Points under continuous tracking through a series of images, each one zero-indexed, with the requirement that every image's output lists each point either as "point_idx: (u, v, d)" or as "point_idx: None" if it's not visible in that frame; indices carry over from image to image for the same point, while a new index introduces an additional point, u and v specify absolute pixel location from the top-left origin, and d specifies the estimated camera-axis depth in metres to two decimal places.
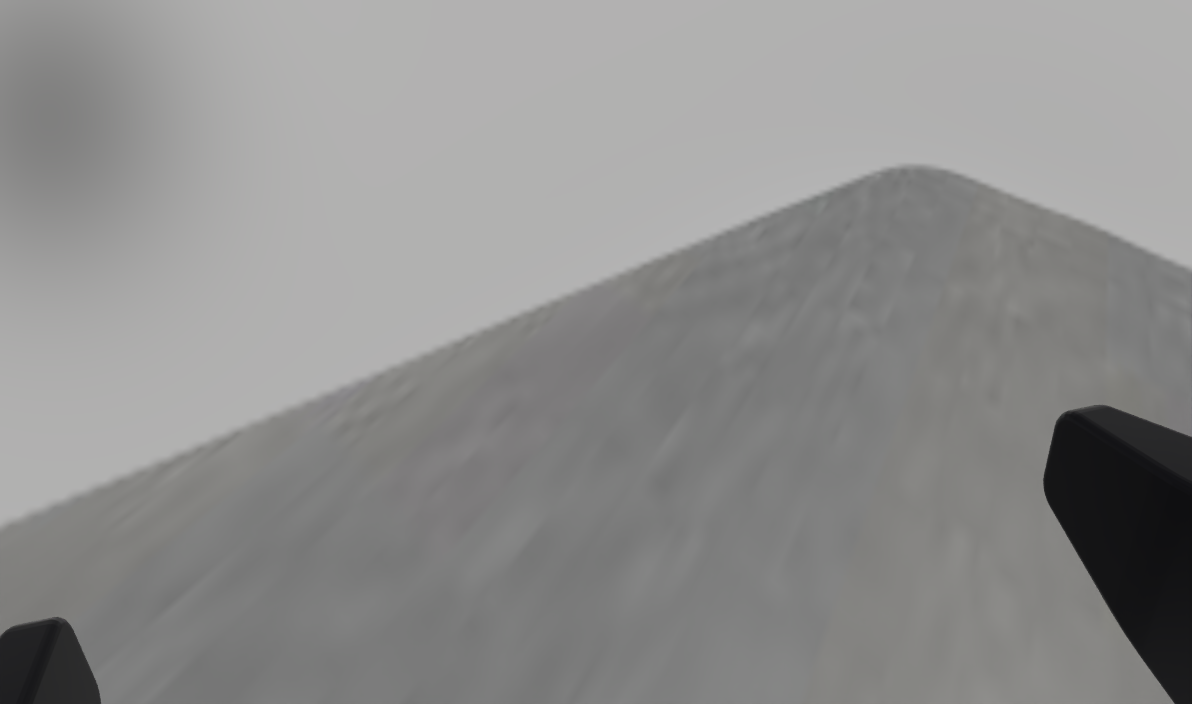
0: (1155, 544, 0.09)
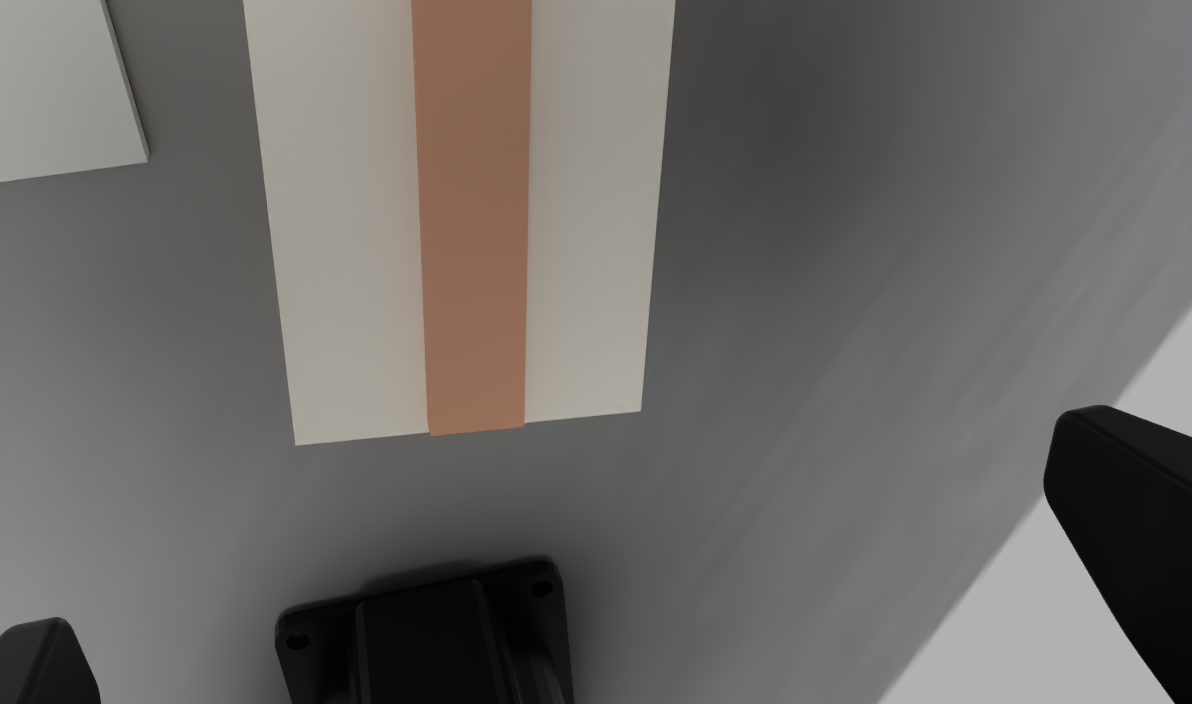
0: (1155, 544, 0.09)
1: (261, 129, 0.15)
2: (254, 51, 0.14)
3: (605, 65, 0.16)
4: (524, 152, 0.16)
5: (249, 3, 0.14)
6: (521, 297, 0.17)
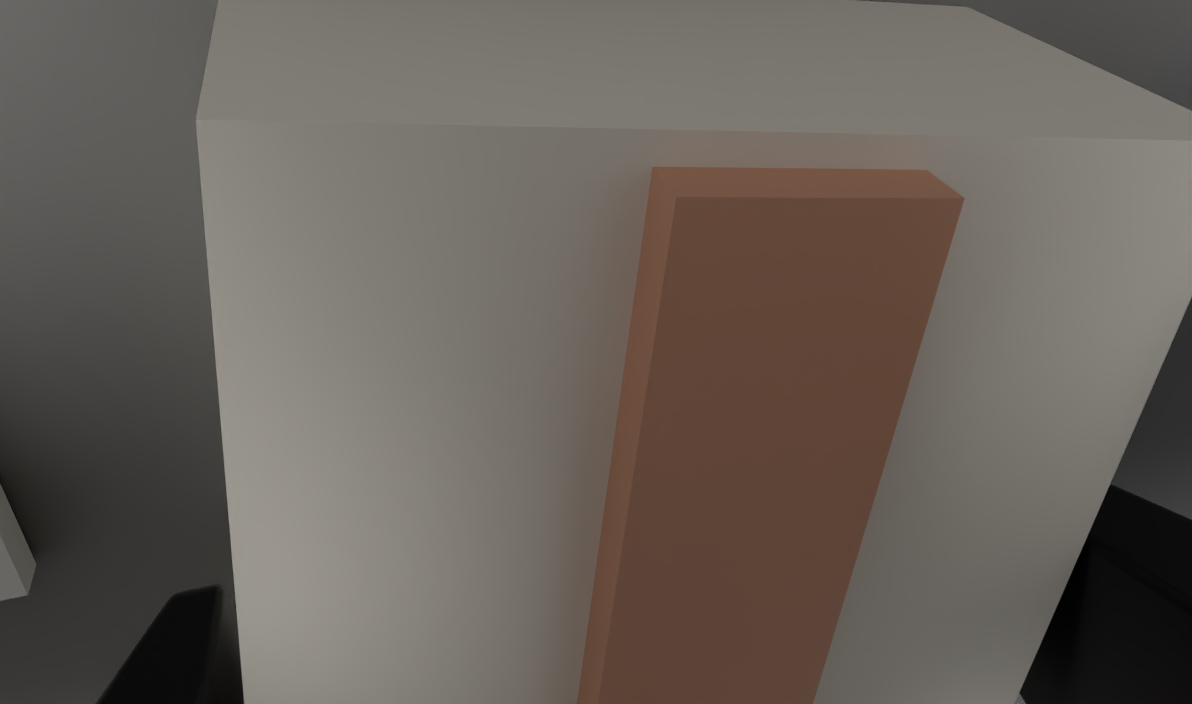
0: None
1: (248, 669, 0.07)
2: (243, 535, 0.06)
3: (983, 512, 0.08)
4: (806, 688, 0.07)
5: (237, 442, 0.06)
6: None
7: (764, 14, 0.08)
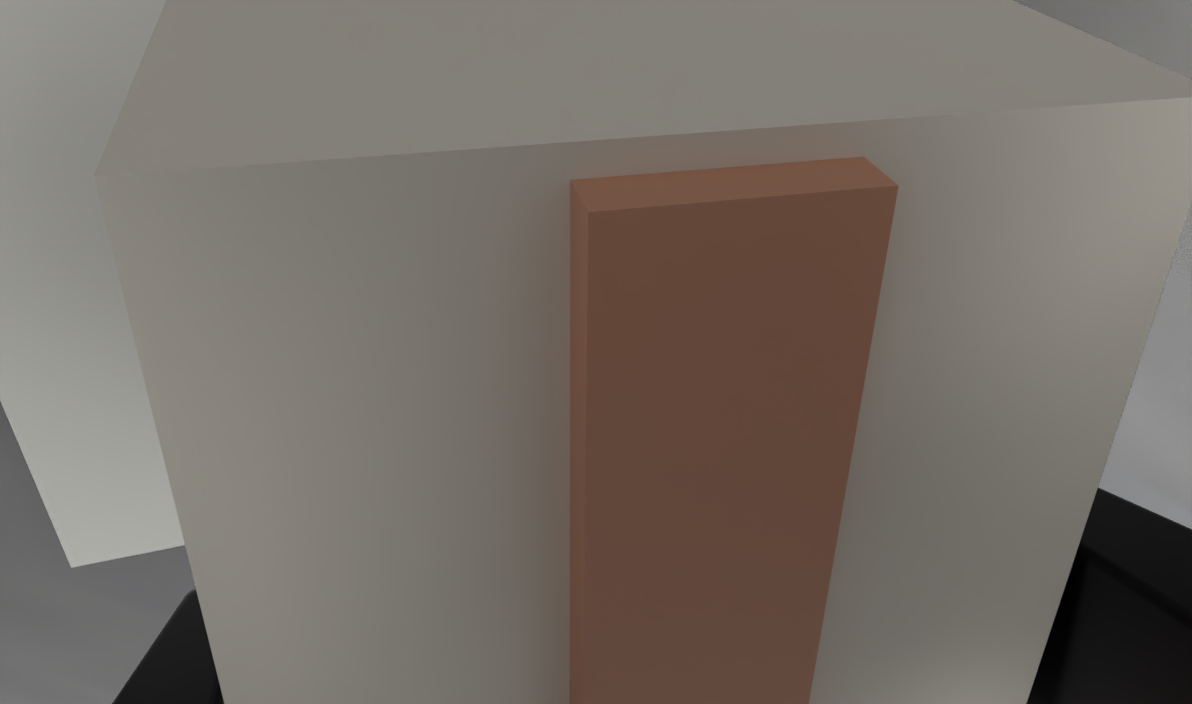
0: None
1: (232, 702, 0.07)
2: (205, 575, 0.06)
3: (972, 496, 0.07)
4: (800, 686, 0.07)
5: (185, 485, 0.06)
6: None
7: None
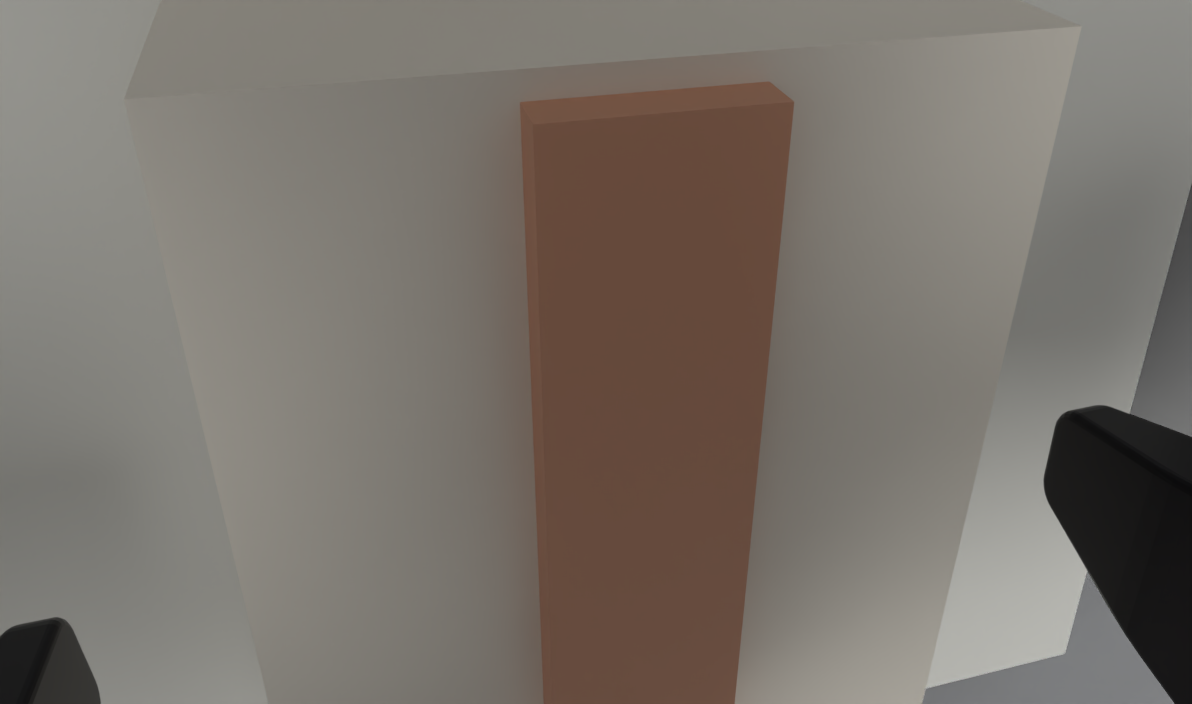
0: (1155, 544, 0.09)
1: (244, 572, 0.08)
2: (219, 452, 0.07)
3: (885, 387, 0.08)
4: (739, 558, 0.08)
5: (202, 371, 0.07)
6: None
7: None
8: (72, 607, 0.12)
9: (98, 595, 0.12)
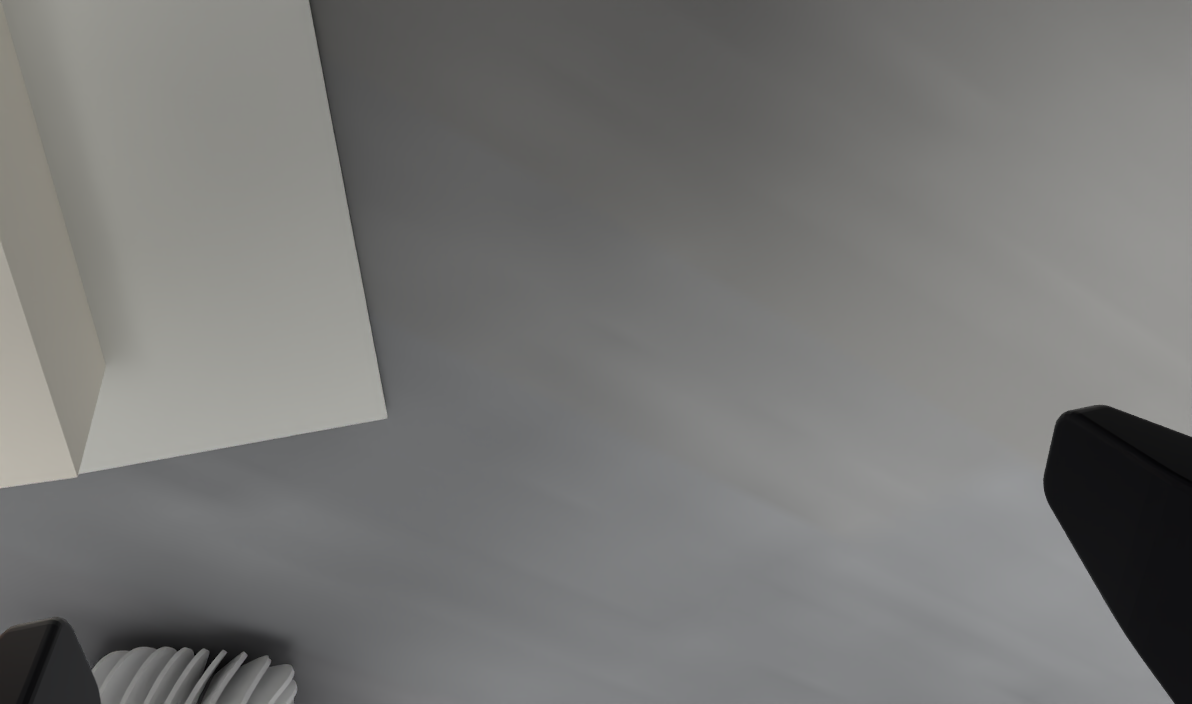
0: (1155, 544, 0.09)
1: None
2: None
3: None
4: None
5: None
6: None
7: None
8: None
9: None
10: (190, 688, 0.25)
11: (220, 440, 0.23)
